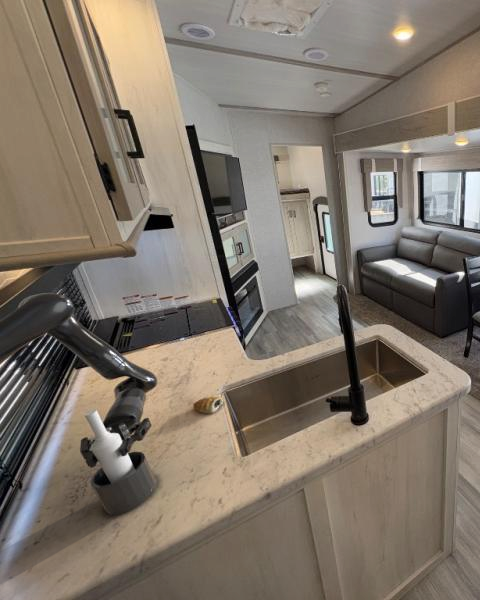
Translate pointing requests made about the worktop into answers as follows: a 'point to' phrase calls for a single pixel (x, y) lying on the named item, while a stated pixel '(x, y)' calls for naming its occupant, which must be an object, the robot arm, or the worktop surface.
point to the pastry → (208, 404)
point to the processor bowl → (125, 486)
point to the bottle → (108, 449)
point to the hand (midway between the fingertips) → (107, 458)
